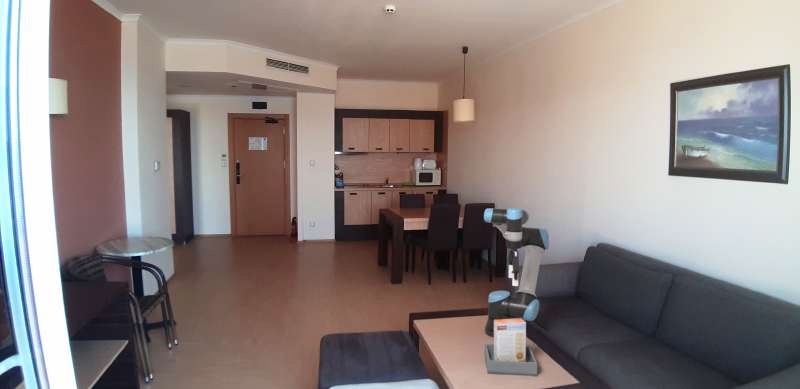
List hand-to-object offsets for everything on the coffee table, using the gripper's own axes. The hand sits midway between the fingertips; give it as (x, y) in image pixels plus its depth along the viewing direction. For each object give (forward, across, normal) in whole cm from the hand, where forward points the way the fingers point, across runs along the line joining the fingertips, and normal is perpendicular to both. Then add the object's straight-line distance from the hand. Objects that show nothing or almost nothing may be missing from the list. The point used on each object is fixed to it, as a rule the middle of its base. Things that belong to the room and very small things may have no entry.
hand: (513, 281), depth 220 cm
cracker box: (+36, +14, -3) cm, 39 cm away
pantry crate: (+37, +14, -3) cm, 39 cm away
